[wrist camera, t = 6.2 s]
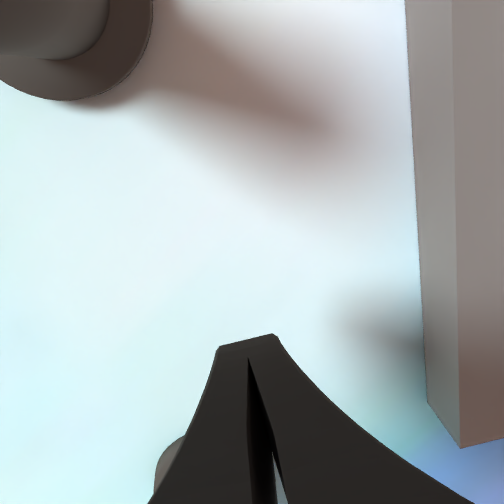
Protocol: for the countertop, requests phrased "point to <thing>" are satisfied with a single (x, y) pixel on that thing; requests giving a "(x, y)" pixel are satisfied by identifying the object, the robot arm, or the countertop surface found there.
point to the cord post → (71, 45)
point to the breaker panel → (460, 207)
